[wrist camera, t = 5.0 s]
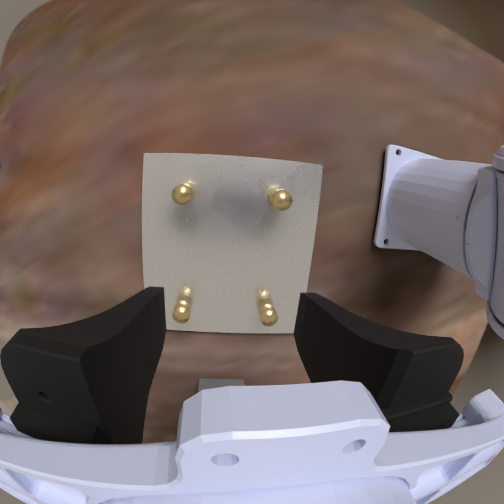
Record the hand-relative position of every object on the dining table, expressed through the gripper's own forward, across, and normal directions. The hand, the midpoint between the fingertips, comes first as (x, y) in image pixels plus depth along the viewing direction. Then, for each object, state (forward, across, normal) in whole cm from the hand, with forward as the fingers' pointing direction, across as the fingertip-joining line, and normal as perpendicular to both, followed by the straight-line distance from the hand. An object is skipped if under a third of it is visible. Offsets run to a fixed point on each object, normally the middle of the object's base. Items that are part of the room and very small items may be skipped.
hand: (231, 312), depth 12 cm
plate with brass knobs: (+9, 0, 0) cm, 9 cm away
